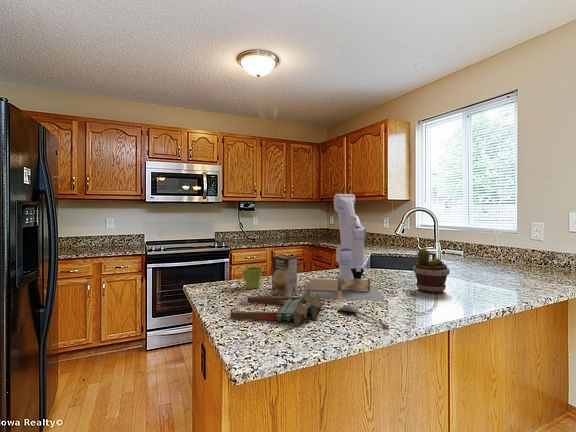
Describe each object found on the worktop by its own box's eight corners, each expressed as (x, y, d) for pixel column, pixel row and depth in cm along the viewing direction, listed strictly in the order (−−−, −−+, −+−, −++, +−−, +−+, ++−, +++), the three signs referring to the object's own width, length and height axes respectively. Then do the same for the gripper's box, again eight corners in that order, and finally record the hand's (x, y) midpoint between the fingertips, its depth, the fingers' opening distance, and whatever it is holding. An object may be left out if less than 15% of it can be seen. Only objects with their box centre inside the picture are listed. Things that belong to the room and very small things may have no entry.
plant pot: (259, 290, 139) (259, 271, 139) (239, 289, 142) (239, 269, 141) (266, 285, 148) (266, 267, 148) (247, 284, 151) (247, 266, 150)
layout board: (306, 285, 149) (306, 273, 148) (376, 288, 144) (376, 275, 144) (302, 298, 127) (302, 284, 127) (384, 302, 122) (384, 287, 122)
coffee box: (270, 294, 133) (271, 256, 133) (280, 291, 138) (281, 254, 138) (287, 298, 127) (288, 258, 127) (297, 295, 132) (297, 256, 132)
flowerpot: (455, 291, 139) (456, 246, 139) (439, 297, 130) (439, 248, 129) (423, 285, 151) (423, 243, 150) (406, 290, 141) (406, 245, 140)
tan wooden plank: (341, 289, 138) (341, 278, 138) (341, 288, 139) (341, 277, 139) (370, 290, 136) (370, 279, 136) (370, 289, 137) (370, 278, 137)
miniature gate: (251, 290, 127) (326, 289, 121) (252, 304, 127) (327, 303, 121) (224, 311, 100) (319, 311, 94) (226, 329, 101) (320, 330, 95)
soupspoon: (348, 310, 116) (334, 313, 113) (348, 301, 116) (333, 304, 113) (394, 328, 97) (378, 332, 94) (394, 317, 97) (378, 321, 94)
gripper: (368, 257, 135) (367, 288, 135) (364, 252, 149) (364, 281, 149) (351, 256, 136) (351, 288, 136) (349, 252, 150) (349, 280, 150)
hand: (357, 284), depth 143 cm, fingers closed
